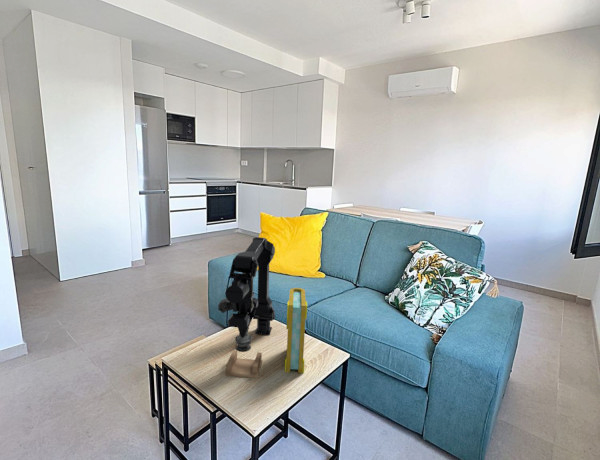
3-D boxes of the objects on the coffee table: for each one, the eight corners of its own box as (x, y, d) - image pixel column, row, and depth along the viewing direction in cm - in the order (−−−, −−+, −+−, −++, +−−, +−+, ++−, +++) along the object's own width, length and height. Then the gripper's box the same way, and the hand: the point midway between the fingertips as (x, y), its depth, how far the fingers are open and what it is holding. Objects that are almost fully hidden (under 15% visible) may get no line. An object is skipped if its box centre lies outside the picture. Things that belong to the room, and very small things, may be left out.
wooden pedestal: (232, 360, 120) (232, 350, 120) (262, 362, 120) (262, 352, 119) (225, 375, 111) (225, 364, 111) (257, 377, 111) (257, 367, 110)
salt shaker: (231, 350, 113) (231, 317, 110) (240, 342, 118) (240, 310, 116) (246, 353, 111) (247, 320, 109) (254, 345, 116) (255, 313, 114)
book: (303, 373, 115) (307, 306, 110) (284, 372, 115) (287, 305, 110) (303, 347, 131) (306, 288, 127) (286, 346, 131) (288, 287, 127)
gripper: (228, 281, 120) (228, 320, 123) (211, 300, 102) (212, 346, 105) (258, 283, 120) (257, 323, 122) (247, 303, 101) (246, 349, 104)
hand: (243, 334), depth 113 cm, fingers closed on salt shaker, 3 cm apart
